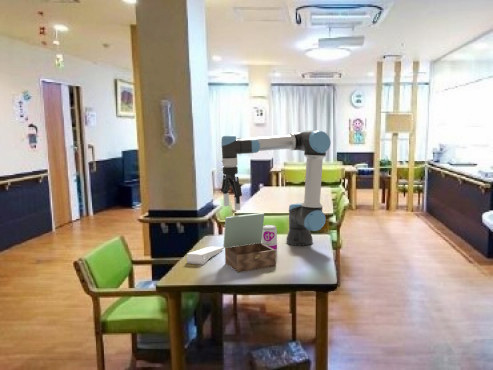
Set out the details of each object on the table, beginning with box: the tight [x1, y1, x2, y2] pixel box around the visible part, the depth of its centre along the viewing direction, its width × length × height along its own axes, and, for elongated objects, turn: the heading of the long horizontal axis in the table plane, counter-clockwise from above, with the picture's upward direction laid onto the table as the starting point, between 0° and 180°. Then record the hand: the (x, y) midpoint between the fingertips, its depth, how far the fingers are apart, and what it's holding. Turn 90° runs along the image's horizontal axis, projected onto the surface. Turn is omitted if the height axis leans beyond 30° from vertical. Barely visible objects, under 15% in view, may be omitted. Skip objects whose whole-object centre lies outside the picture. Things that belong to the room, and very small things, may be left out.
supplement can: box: [261, 224, 278, 254], centre depth 232 cm, size 8×8×15 cm
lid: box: [222, 212, 265, 249], centre depth 219 cm, size 21×16×1 cm
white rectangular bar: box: [186, 246, 225, 265], centre depth 230 cm, size 10×7×28 cm
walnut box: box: [224, 242, 277, 274], centre depth 214 cm, size 20×17×8 cm
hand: (231, 207), depth 222 cm, fingers open, 13 cm apart
